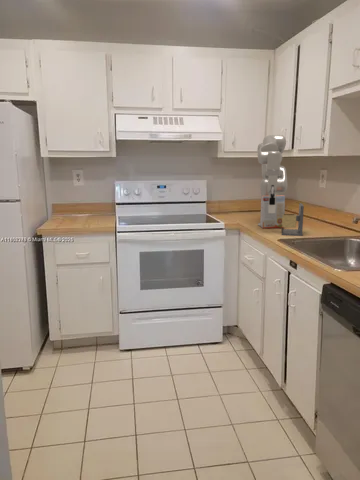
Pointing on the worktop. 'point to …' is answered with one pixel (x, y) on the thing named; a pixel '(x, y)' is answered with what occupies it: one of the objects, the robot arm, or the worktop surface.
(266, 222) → the cracker box
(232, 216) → the worktop surface
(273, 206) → the rail post
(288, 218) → the cup bracket
